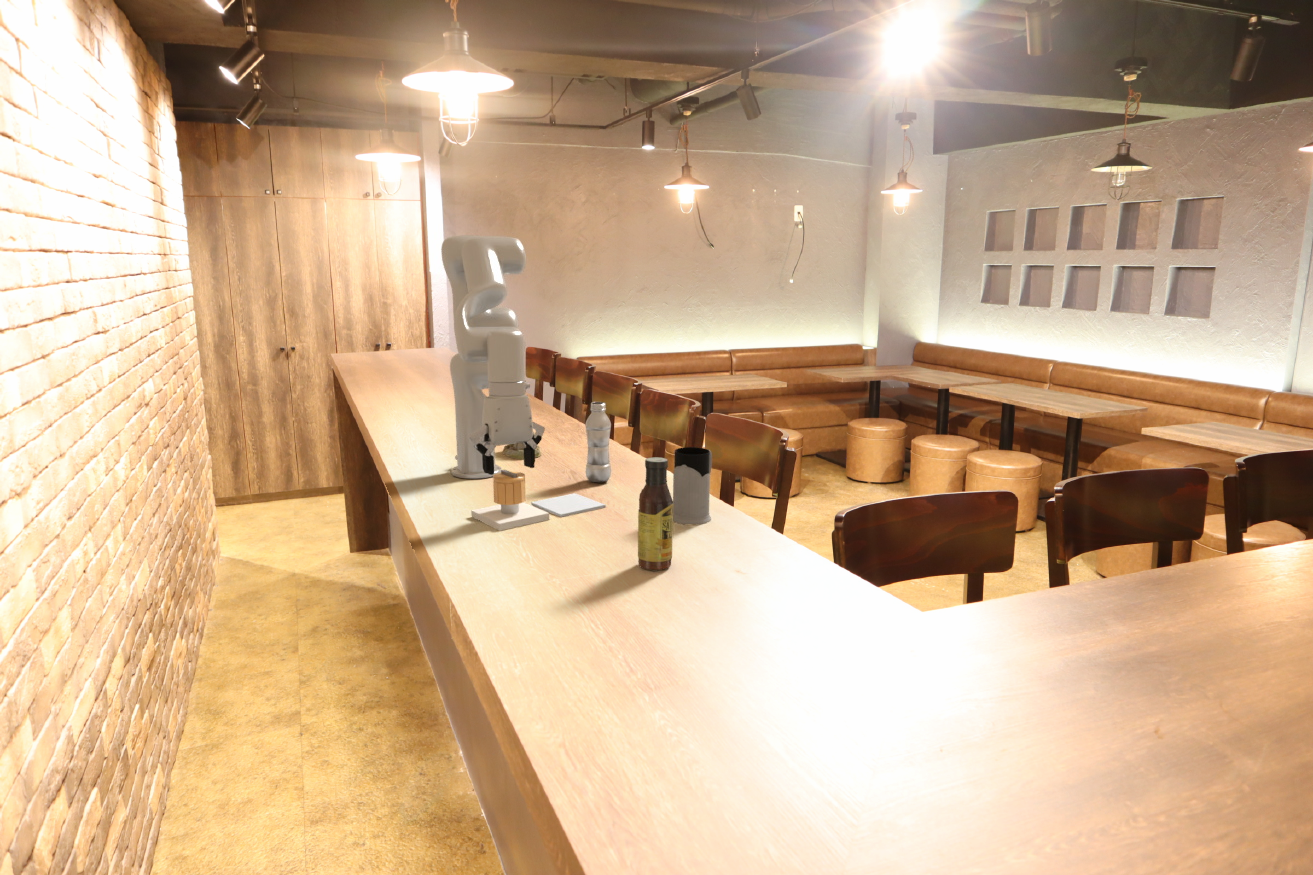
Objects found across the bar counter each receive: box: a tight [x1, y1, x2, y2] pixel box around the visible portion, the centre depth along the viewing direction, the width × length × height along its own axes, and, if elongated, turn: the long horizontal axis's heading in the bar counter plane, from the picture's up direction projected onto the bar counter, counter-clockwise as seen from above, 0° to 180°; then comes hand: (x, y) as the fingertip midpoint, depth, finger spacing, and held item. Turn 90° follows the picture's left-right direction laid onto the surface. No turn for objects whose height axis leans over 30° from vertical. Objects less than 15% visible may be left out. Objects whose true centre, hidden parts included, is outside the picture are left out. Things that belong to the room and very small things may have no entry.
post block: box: [470, 502, 550, 531], centre depth 177 cm, size 12×12×8 cm
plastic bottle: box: [584, 401, 612, 483], centre depth 206 cm, size 6×7×20 cm
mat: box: [530, 492, 607, 518], centre depth 187 cm, size 12×12×1 cm
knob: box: [492, 469, 526, 505], centre depth 176 cm, size 7×7×6 cm
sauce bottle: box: [637, 456, 674, 572], centre depth 149 cm, size 6×6×20 cm
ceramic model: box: [502, 431, 542, 460], centre depth 236 cm, size 14×11×10 cm
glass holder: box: [672, 446, 713, 525], centre depth 180 cm, size 9×14×15 cm, turn 152°
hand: (509, 470), depth 175 cm, fingers open, 9 cm apart
